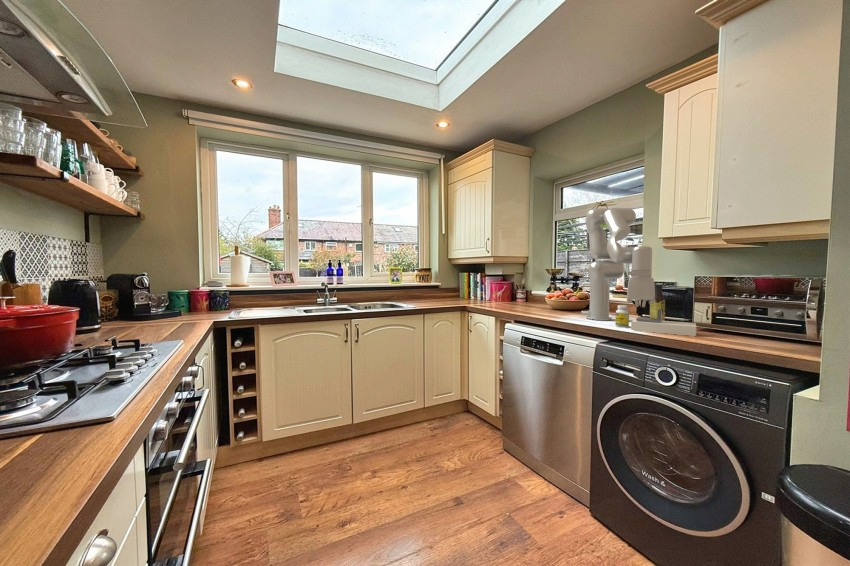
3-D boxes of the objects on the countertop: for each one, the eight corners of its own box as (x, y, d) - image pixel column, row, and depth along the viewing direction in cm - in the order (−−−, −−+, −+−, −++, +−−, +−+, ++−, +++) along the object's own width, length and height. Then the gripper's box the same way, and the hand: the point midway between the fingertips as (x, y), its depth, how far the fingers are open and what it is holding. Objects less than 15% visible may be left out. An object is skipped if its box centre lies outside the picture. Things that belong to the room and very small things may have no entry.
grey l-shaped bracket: (636, 320, 149) (636, 309, 149) (638, 318, 155) (638, 308, 155) (661, 322, 143) (661, 311, 143) (662, 320, 149) (662, 309, 149)
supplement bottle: (612, 326, 161) (613, 305, 161) (620, 325, 163) (621, 305, 163) (623, 327, 156) (624, 306, 156) (631, 327, 158) (632, 306, 158)
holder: (631, 330, 148) (631, 321, 148) (634, 327, 158) (635, 318, 157) (695, 336, 135) (696, 326, 134) (695, 332, 144) (695, 323, 144)
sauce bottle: (664, 324, 167) (665, 284, 166) (648, 323, 171) (649, 283, 170) (664, 323, 172) (665, 284, 172) (649, 322, 176) (650, 283, 175)
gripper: (620, 274, 152) (619, 315, 153) (661, 274, 143) (660, 318, 143) (623, 274, 158) (622, 313, 159) (662, 274, 149) (661, 316, 149)
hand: (640, 315), depth 151 cm, fingers closed
